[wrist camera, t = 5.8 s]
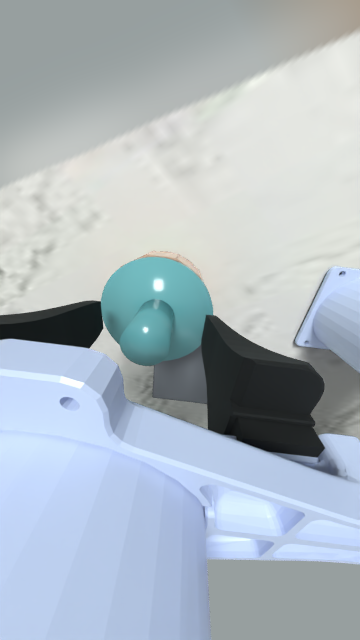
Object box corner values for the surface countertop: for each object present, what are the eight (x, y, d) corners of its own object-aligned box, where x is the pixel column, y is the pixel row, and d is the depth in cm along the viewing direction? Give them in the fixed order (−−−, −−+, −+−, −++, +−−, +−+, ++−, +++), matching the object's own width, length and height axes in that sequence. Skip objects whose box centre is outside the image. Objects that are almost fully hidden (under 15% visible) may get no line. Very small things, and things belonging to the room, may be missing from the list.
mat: (237, 347, 19) (238, 349, 19) (220, 402, 23) (220, 405, 23) (156, 337, 19) (155, 339, 19) (153, 394, 23) (152, 397, 23)
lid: (224, 268, 12) (243, 286, 8) (199, 362, 16) (202, 408, 12) (103, 246, 12) (56, 252, 8) (106, 346, 16) (76, 388, 12)
